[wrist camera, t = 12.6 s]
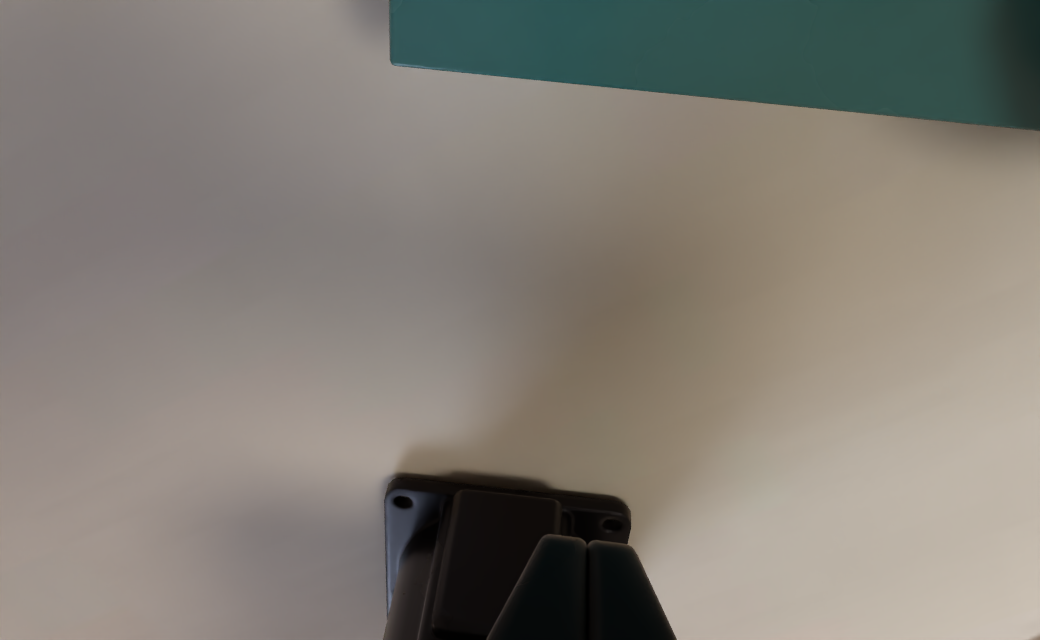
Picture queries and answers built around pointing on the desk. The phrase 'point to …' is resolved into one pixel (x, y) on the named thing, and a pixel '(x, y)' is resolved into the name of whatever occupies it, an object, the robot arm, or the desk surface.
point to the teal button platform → (751, 50)
